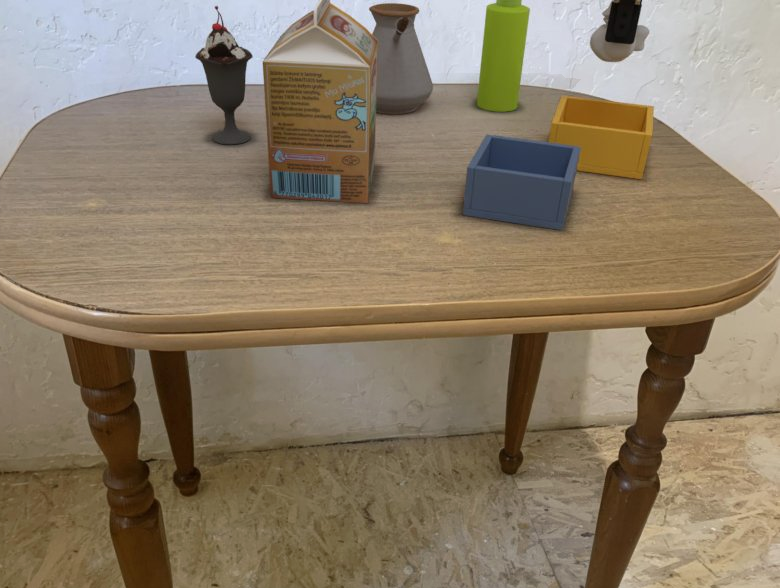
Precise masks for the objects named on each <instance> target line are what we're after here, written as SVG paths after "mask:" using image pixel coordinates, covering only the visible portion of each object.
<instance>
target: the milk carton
mask: <svg viewBox="0 0 780 588" xmlns="http://www.w3.org/2000/svg"><path fill="white" fill-rule="evenodd" d="M377 49H378V41H377V40H376V38H375V37H374V36H373V35H372V33H371V32H370V30H368V28H367V27H366V26H364V25H363V24H362V23H360V22H359V21H357V20H356V19H355V18H354V17H353V16H352V15H350V14H349V13H346V12H345V11H344V10H342V9H341V8H340V7H337V6H336V5H334V4H333V3H331V0H318V1H317V3H316V4H315V6H314V7H313V10H311V11H309V12H308V13H306V14H304V16H302V17H300V18H299V19H297V20H296V21H295V22H292V24H291V25H290V26H288V28H287V29H286V30H285V31H284V32H283V33H282V34H281V35H280V36H279V38H278V39H277V41H276V42H275V43H274V45H273V46H272V47H271V49H270V50H269V52H268V53H267V54H266V56H265V57H264V59H263V60H262V75H263V91H264V107H265V125H266V138H267V139H266V140H267V142H266V143H267V156H268V157H267V158H268V172H269V173H268V174H269V188H270V199H286V200H301V201H303V200H304V201H320V202H321V201H323V202H339V203H356V204H357V203H358V204H368V203H369V199H370V195H371V194H370V193H371V187H372V184H373V183H372V182H373V179H374V178H373V177H374V173H375V167H376V133H377V131H376V130H377V128H376V127H377V112H376V91H377Z"/></svg>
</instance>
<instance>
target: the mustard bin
mask: <svg viewBox="0 0 780 588" xmlns="http://www.w3.org/2000/svg"><path fill="white" fill-rule="evenodd" d="M654 111H655V106H654V105H647V104H639V103H629V102H621V101H613V100H604V99H596V98H587V97H580V96H579V97H578V96H571V95H569V96H568V95H563V94H562V95H561V97H560V99H559V102H558V105H557V107H556V110H555V112H554V114H553V118H552V120H551V123H550V127H549V135H548V140H547V142H549V143H557V144H565V145H572V146H579V147H581V150H580V155H579V160H578V166H577V171H576V172H585V173H591V174H592V173H593V174H598V175H599V174H600V175H605V176H607V175H608V176H614V177H622V178H629V179H637V180H642V179H643V176H644V171H645V167H646V163H647V159H648V154H649V151H650V147H651V144H652V143H651V141H652V138H653V130H654Z"/></svg>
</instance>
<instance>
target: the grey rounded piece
mask: <svg viewBox="0 0 780 588" xmlns="http://www.w3.org/2000/svg"><path fill="white" fill-rule="evenodd" d="M619 1H620V0H619ZM612 2H614V0H611V1H610V3H609V5H608V7H607V8H606V9H605V10H603V11H602V12H601V15H602V16H603V18H602V19H603V22H604V24H601V25H600V26H599V27H597V28H596V29H595V30H594V31H593V33H592V34H591V36H590V40H589V46H590V49H591V51H592V52H593V54H594V55H595V56H596V57H597V58H598V59H599V60H601V61H603V62H606V63H620V62H623V61H624V60H626V59H627V58H629V57H630V56H631V55H632V54H633V53H634V52H641V51H643V50H644V49H645V42H646V39H647V38H648V36H649V35H650V29H649V28H648V27H647V26H645V25H644V24H643V25H642V24H638V26H637V30H636V35H635V40H634V43H633V44H622V43H612V42H606V41H605V35H606V30H607V25H608V19H609V14H610V9H611V4H612Z"/></svg>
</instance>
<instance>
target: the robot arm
mask: <svg viewBox="0 0 780 588" xmlns="http://www.w3.org/2000/svg"><path fill="white" fill-rule="evenodd" d="M642 7H643V0H620V1H619V0H614V2H612V4H611V9H610V14H609V19H608V25H607V30H606V35H605V41H606V42H612V43H622V44H633V43H634V40H635V35H636V30H637V26H638V25H639V21H640V16H641V11H642Z"/></svg>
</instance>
